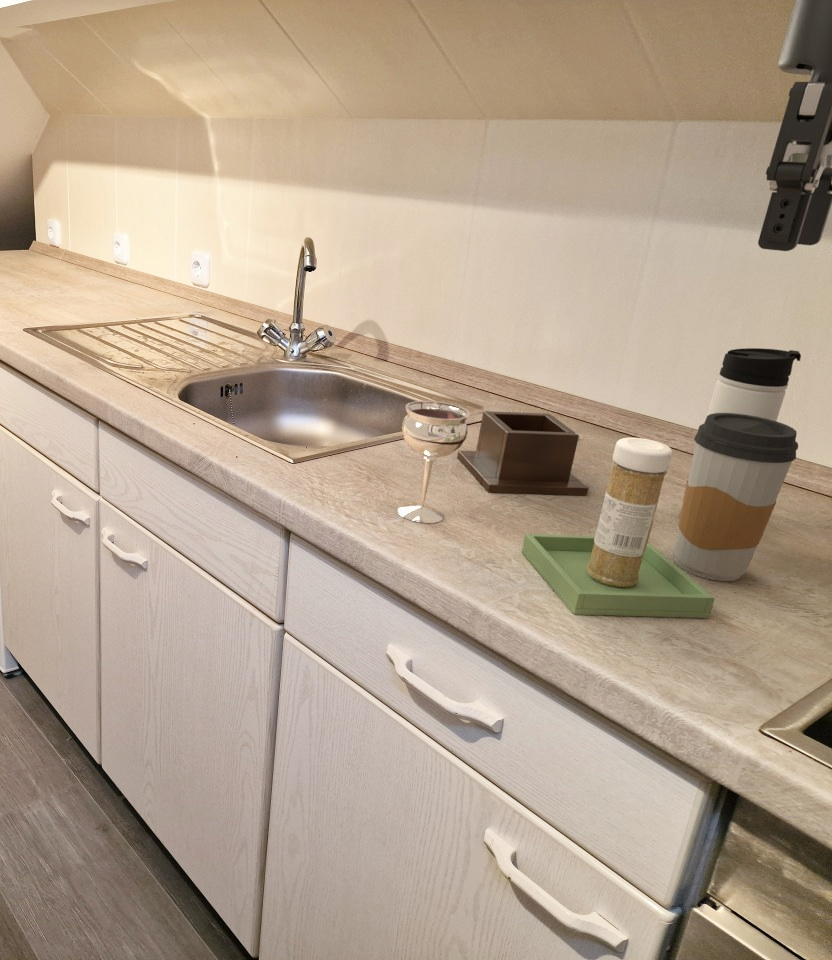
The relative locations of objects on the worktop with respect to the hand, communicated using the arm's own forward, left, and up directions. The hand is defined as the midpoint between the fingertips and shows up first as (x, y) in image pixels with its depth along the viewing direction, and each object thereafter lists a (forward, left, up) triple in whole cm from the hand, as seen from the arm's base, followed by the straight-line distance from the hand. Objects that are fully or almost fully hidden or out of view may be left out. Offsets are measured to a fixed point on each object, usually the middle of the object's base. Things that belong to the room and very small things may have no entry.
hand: (788, 246), depth 62 cm
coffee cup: (-10, -12, -32) cm, 36 cm away
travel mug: (-17, -23, -32) cm, 43 cm away
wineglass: (+16, -23, -32) cm, 43 cm away
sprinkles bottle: (+2, -8, -32) cm, 33 cm away
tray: (+2, -8, -32) cm, 33 cm away
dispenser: (0, -36, -32) cm, 48 cm away
